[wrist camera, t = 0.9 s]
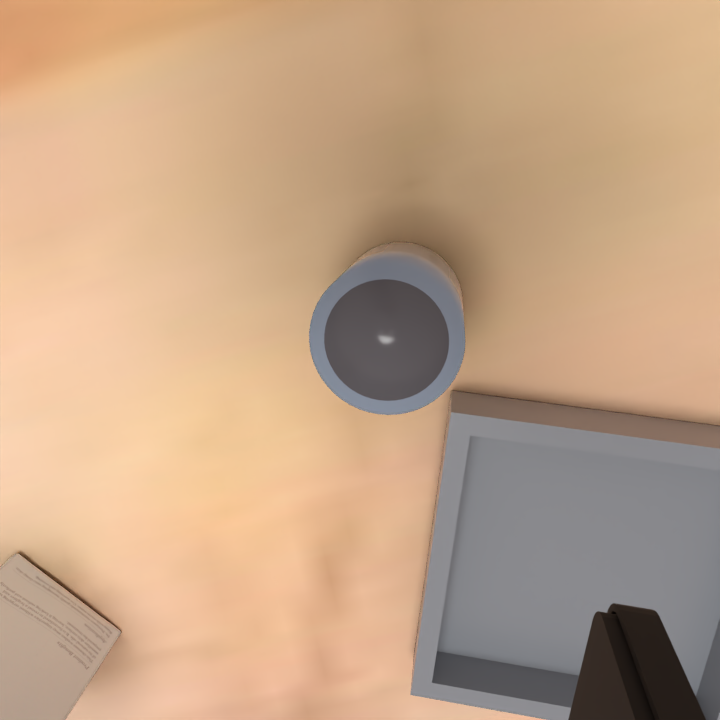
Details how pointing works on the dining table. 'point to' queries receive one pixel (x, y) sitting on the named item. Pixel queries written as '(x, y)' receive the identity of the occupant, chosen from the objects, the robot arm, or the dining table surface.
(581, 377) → the dining table surface
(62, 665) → the skincare box
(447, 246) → the dining table surface
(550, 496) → the tray
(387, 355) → the cup
